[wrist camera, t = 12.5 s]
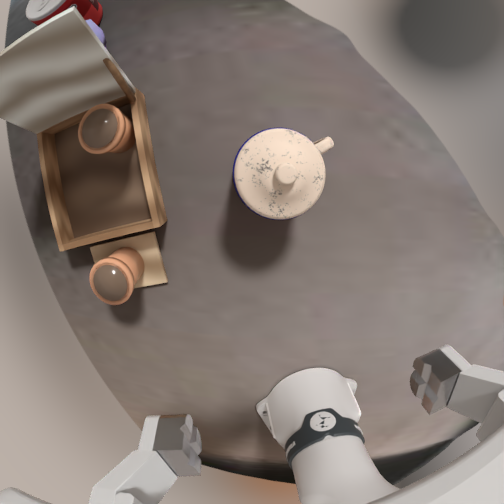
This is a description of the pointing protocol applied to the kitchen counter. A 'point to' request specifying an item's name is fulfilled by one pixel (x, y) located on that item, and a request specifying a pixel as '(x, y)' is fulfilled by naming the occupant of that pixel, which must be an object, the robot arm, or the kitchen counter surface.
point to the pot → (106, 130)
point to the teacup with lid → (280, 172)
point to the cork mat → (146, 249)
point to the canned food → (62, 9)
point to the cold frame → (66, 131)
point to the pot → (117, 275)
